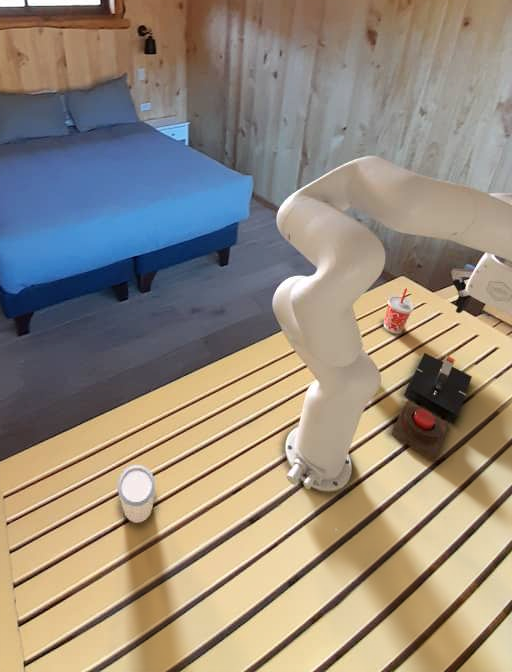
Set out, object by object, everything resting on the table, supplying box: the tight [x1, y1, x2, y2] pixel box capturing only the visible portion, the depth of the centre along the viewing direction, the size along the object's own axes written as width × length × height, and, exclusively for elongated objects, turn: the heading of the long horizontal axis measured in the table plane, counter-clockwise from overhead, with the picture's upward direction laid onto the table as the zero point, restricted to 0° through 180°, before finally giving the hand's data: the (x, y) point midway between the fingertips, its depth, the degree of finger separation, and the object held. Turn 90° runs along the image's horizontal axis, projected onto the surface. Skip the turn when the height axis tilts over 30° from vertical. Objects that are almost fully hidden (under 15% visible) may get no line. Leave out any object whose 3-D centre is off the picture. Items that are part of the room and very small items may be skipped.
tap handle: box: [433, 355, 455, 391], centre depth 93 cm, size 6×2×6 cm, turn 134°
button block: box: [390, 398, 449, 462], centre depth 86 cm, size 10×8×4 cm
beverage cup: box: [383, 288, 415, 335], centre depth 110 cm, size 6×6×14 cm
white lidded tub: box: [117, 464, 156, 523], centre depth 74 cm, size 7×7×7 cm
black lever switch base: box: [403, 352, 473, 425], centre depth 95 cm, size 14×10×3 cm
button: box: [413, 408, 435, 430], centre depth 85 cm, size 4×4×2 cm
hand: (487, 324), depth 80 cm, fingers open, 9 cm apart
